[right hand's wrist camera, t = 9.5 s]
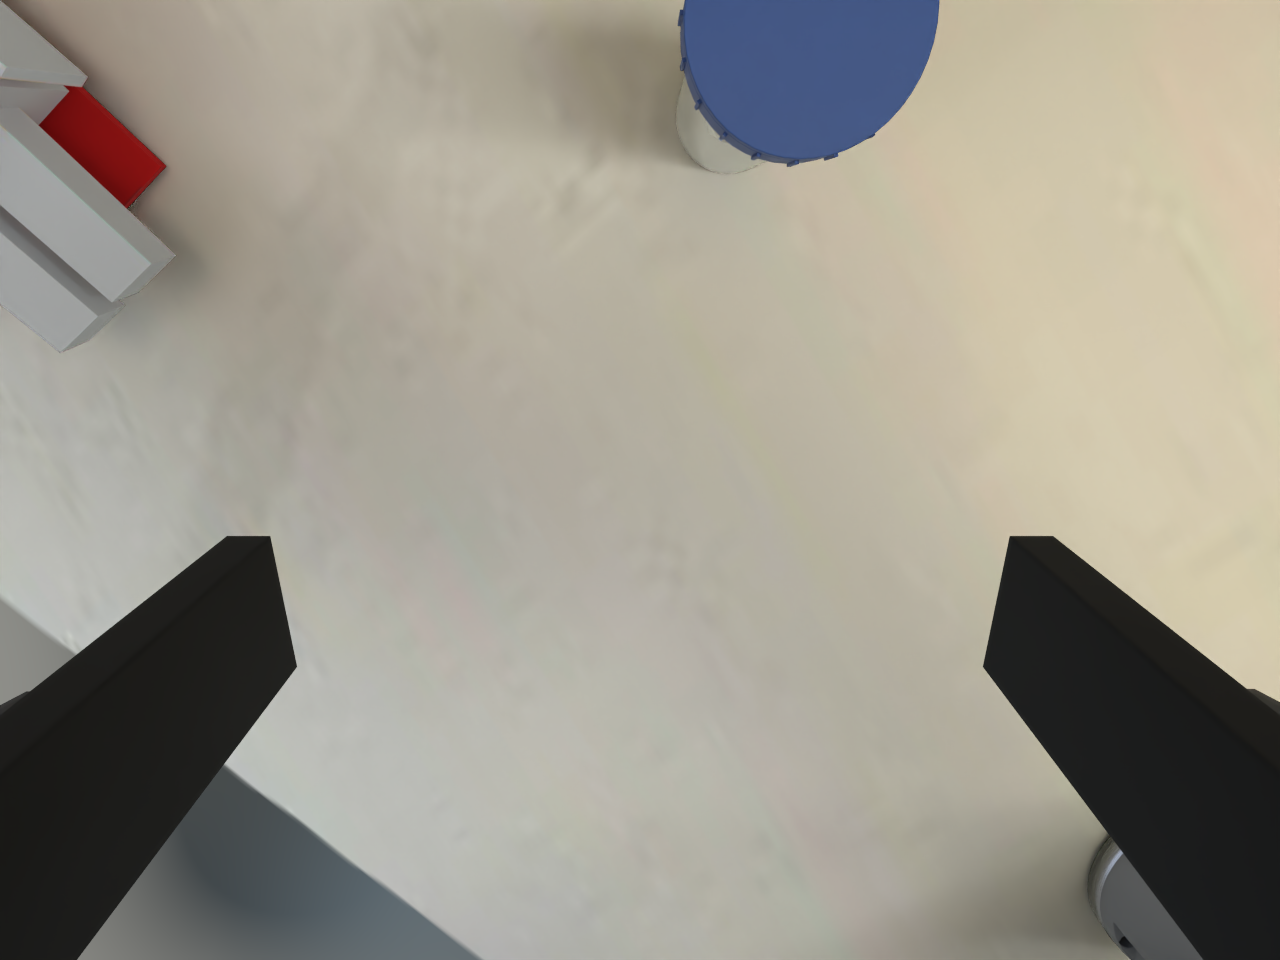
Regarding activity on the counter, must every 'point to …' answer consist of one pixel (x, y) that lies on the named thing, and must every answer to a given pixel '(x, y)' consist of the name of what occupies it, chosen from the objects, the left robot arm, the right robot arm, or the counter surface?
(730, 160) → the jar
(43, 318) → the toy
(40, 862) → the right robot arm
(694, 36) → the lid
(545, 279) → the counter surface
